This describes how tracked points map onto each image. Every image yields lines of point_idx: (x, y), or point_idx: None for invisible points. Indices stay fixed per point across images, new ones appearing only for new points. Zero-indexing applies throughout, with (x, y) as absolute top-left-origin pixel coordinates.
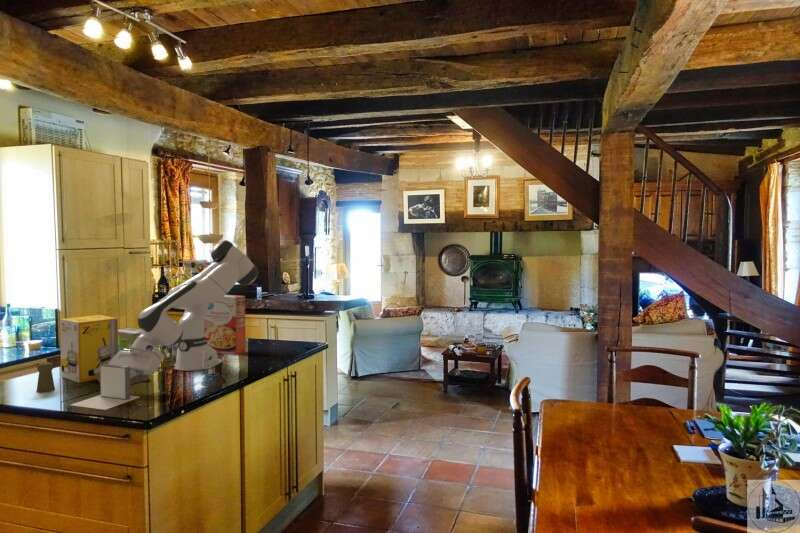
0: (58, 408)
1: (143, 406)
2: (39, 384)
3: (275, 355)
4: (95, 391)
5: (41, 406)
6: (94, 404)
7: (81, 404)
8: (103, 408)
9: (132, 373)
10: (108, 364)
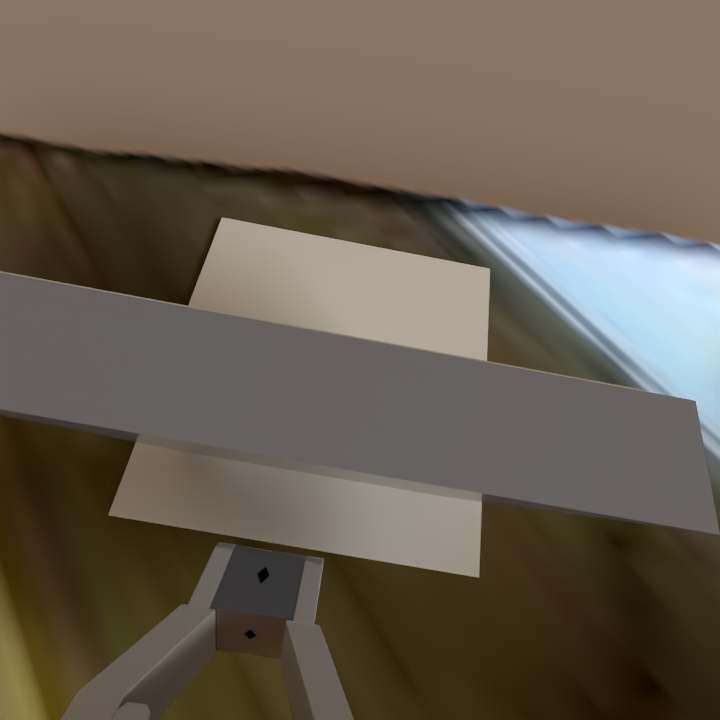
0: (516, 245)
1: None
2: None
3: None
4: (632, 640)
5: (629, 263)
6: (353, 292)
7: (430, 282)
8: (246, 233)
9: (96, 694)
10: (541, 479)
